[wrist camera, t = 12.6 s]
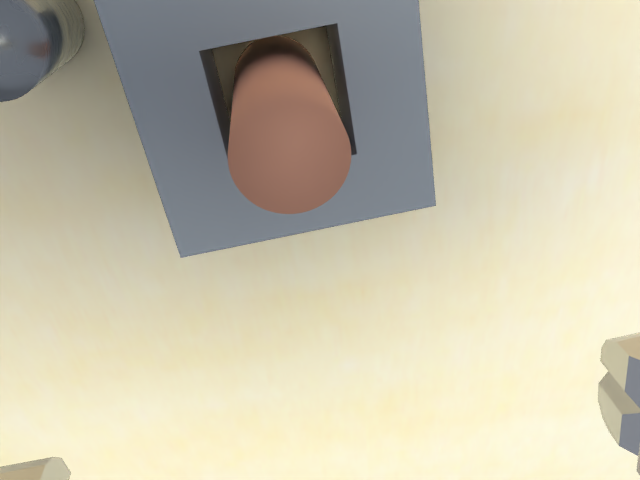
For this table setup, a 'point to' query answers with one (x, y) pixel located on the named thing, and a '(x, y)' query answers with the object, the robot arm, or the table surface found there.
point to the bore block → (214, 124)
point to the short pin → (36, 42)
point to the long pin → (285, 130)
